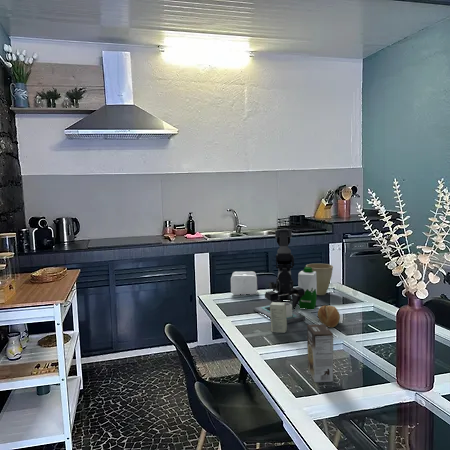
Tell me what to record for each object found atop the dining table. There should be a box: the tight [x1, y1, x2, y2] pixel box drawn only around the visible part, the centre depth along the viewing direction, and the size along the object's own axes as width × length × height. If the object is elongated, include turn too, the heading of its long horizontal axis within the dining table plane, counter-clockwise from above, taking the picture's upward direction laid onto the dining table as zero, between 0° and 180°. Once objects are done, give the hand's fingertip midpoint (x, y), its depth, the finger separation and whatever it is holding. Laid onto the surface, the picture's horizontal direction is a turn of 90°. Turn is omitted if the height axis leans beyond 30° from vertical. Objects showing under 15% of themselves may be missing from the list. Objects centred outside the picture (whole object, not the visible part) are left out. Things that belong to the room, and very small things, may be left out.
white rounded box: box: [230, 271, 258, 296], centre depth 242 cm, size 15×11×12 cm
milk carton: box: [297, 266, 318, 310], centre depth 211 cm, size 9×9×20 cm
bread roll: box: [317, 305, 341, 329], centre depth 187 cm, size 10×15×8 cm, turn 174°
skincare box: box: [269, 301, 288, 333], centre depth 180 cm, size 6×4×12 cm
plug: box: [284, 301, 293, 318], centre depth 195 cm, size 4×4×8 cm
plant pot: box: [305, 263, 334, 296], centre depth 236 cm, size 15×15×16 cm
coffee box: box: [306, 323, 334, 383], centre depth 137 cm, size 9×6×16 cm
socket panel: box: [253, 304, 306, 324], centre depth 201 cm, size 14×24×2 cm, turn 24°
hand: (285, 311), depth 195 cm, fingers open, 9 cm apart
